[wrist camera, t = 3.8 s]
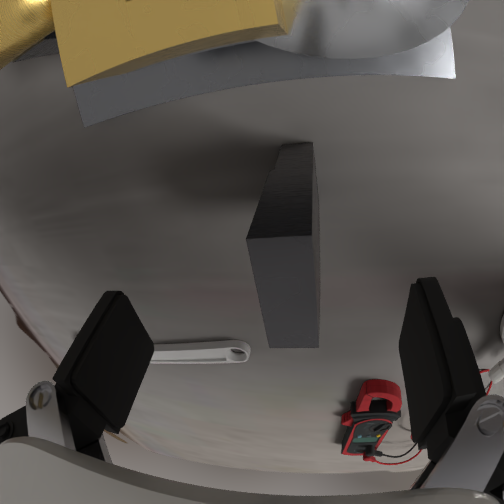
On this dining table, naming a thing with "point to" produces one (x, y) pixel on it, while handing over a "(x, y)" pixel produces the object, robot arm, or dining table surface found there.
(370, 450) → the digital clamp meter
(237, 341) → the adjustable wrench
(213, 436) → the dining table surface
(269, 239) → the wedge
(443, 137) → the dining table surface
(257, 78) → the multicoloured piece
